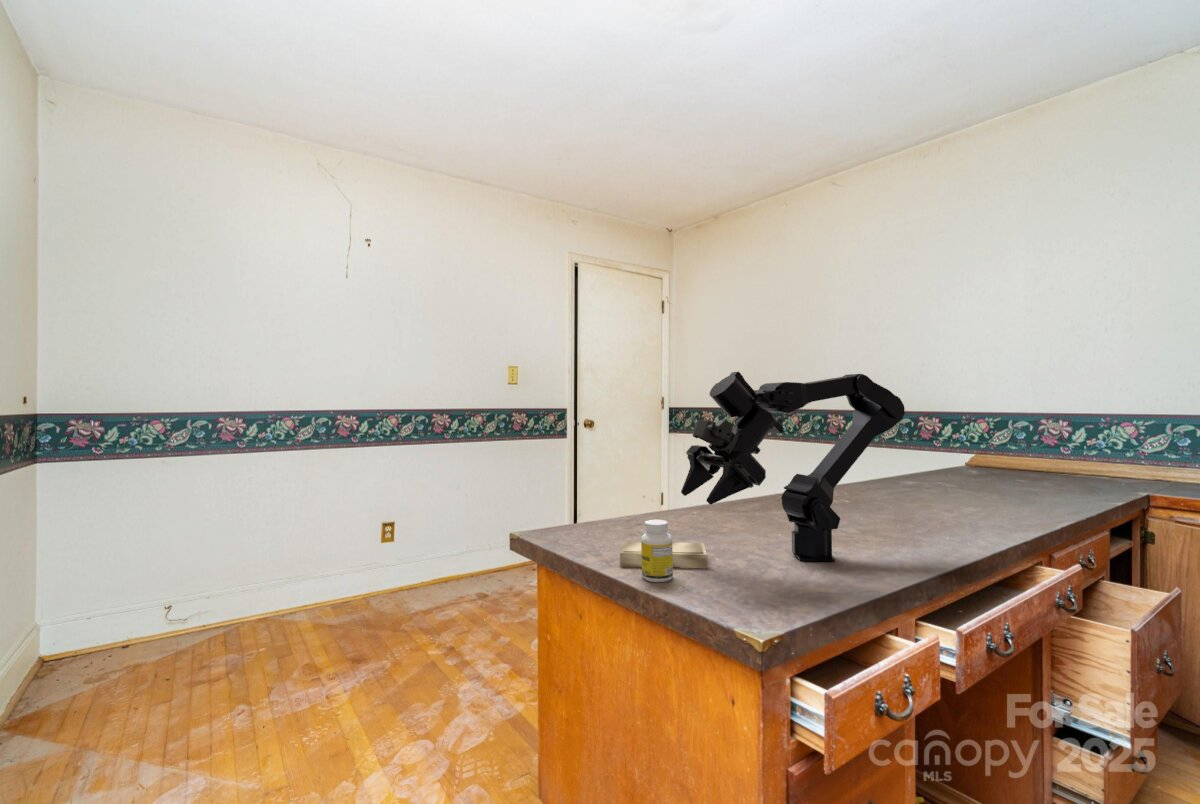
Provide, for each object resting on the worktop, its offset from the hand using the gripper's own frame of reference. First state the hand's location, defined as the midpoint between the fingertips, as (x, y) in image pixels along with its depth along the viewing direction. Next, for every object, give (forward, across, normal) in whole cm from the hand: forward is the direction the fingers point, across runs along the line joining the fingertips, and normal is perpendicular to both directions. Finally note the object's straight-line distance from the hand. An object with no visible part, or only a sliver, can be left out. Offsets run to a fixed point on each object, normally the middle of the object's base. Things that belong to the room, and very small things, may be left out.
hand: (695, 498), depth 97 cm
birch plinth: (+11, -8, +8) cm, 16 cm away
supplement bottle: (+15, 0, +4) cm, 16 cm away
